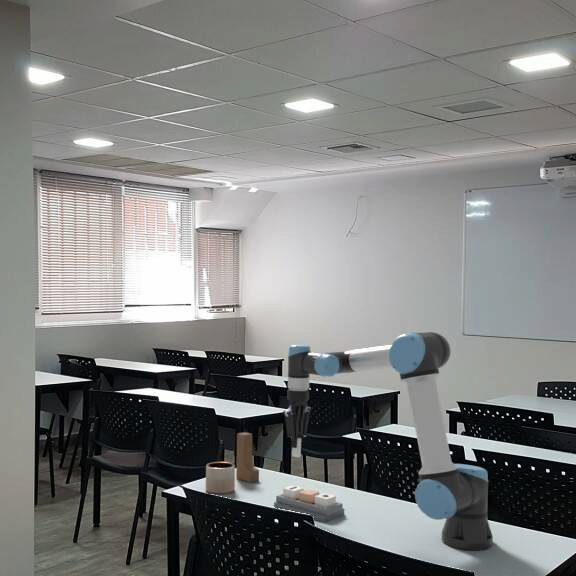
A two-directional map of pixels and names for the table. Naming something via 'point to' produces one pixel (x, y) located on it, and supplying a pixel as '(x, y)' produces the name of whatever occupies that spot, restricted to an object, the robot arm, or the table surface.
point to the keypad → (310, 508)
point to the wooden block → (245, 459)
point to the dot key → (325, 500)
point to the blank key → (308, 496)
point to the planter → (220, 477)
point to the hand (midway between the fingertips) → (296, 456)
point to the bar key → (292, 492)
